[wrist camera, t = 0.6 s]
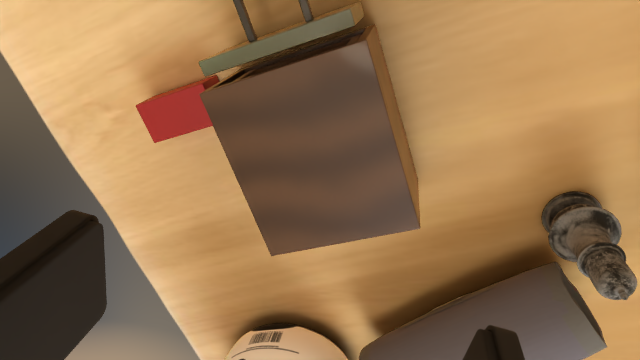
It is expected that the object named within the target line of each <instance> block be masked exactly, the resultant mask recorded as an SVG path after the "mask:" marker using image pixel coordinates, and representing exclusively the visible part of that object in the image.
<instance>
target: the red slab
mask: <svg viewBox="0 0 640 360" xmlns="http://www.w3.org/2000/svg"><path fill="white" fill-rule="evenodd" d="M218 82H219V80H218V78H217V76H216V75H215V76H212V77H209V78H206V79H204V80H201V81H198V82H195V83H192V84H189V85H186V86H183V87H180V88H177V89H174V90H171V91H168V92H165V93H162V94H159V95H156V96H153V97H151V98H149V99H147V100H145V101H143V102H141V103H139V104H138V105H136V108H137V110H138V112H139V114H140V116H141V117H142V119H143V121H144V123H145V125H146V127H147V129H148V131H149V133H150V135H151V137H152V139H153V141H154V143H156V142H160V141H163V140H166V139H170V138H173V137H176V136H180V135H183V134H186V133H190V132H193V131H197V130H200V129H203V128H207V127H210V126H213V124H212V122H211V120H210V118H209V115H208V113H207V111H206V109H205V106H204V104H203V102H202V100H201V97H200V95H199V94H200V93H202V92H203V91H205V90H207V89H208V88H210V87H212V86H213V85H215V84H217V83H218Z"/></svg>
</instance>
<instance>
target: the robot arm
mask: <svg viewBox="0 0 640 360" xmlns="http://www.w3.org/2000/svg"><path fill="white" fill-rule="evenodd" d="M103 234H104V233H103V226H102V224H100V223H99V222H98V219H97V217H96V216H94V215H90V214H86V213H82V212H79V211H75V210H71V211H68V212H66V213H65V214H63V215H62V216H61V217H59V218H58V219H56V220H55V221H53V222H52V223H51V224H49V225H48V226H46V227H45V228H44V229H42V230H41V231H39V232H38V233H36V234H35V235H34V236H32V237H31V238H30V239H28V240H26V241H25V242H24V243H22V244H21V245H20V246H18V247H17V248H15V249H14V250H12V251H11V252H9V253H8V254H7V255H5V256H4V257H2V258H1V259H0V360H64V359H65V358H66V357H67V356H68V355H69V354H70V352H71V351H72V350H73V349H74V348H75V347H76V345H78V343H79V342H80V341H81V340H82V339H83V338H84V337H85V335H86V334H87V333H88V332H89V331H90V330H91V329H92V328H93V326H94V325H95V324H96V323H97V322H98V321H99V320H100V318H101V317H102V315H103V314H104V312H105V309H106V304H107V301H106V279H105V256H104V235H103ZM463 360H525V358H524V354H523V351H522V348H521V345H520V342H519V338H518V336H517V334H516V333H515V332H514V331H511V330H507V329H504V328H500V327H496V326H493V325H488V326H487V327H486V329H485V330H483V329H478V330H477V332H476V334H475V336H474V338H473V340H472V342H471V344H470V346H469V348H468V350H467V352H466V354H465V356H464V358H463Z"/></svg>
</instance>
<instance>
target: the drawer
mask: <svg viewBox="0 0 640 360" xmlns="http://www.w3.org/2000/svg"><path fill="white" fill-rule="evenodd" d="M233 2H234V4H235V7H236V9H237V12H238V15H239V17H240V20H241V22H242V25H243V28H244V30H245V33H246V35H247V38H248V41H247V42H244V43H241V44H239V45H236V46H233V47H231V48H228V49H226V50H224V51H222V52H219V53H217V54H215V55H213V56H211V57H208V58H206V59H204V60H202V61H199V65H200V67H201V69H202V71H203V74H204V76H205V77H206V76H209V75H212V74H215V73H217V72H220V71H223V70H226V69H229V68H232V67H235V66H238V65H241V64H244V63H247V62H250V61H253V60H256V59H259V58H262V57H265V56H268V55H270V54H273V53H276V52H279V51H282V50H285V49H288V48H291V47H294V46H297V45H300V44H303V43H306V42H309V41H312V40H315V39H318V38H321V37H323V36H326V35H329V34H332V33H335V32H338V31H341V30H344V29H347V28H350V27H353V26H355V25H356V24H357V23H358V22H359V21H360V20H361V19H362V17H363V16H364V12H363V8H362V4H361V1H359V2H357V3H354V4H351V5H348V6H345V7H343V8H340V9H337V10H334V11H331V12H328V13H326V14H323V15H320V16H317V17H313V14H312V11H311V8H310V5H309V2H308V0H299V3H300V6H301V9H302V12H303V15H304V18H305V21H303V22H300V23H298V24H295V25H292V26H289V27H286V28H284V29H281V30H278V31H275V32H272V33H269V34H267V35H264V36H261V37H258V38H257V37H256V34H255V31H254V29H253V26H252V23H251V21H250V18H249V15H248V13H247V10H246V7H245V5H244V2H243V0H233ZM360 36H361V34H359V35H356V36H353V37H350V38H347V39H344V40H341V41H338V42H335V43H332V44H329V45H326V46H323V47H320V48H317V49H314V50H311V51H308V52H305V53H302V54H299V55H296V56H293V57H290V58H287V59H284V60H281V61H278V62H275V63H272V64H269V65H266V66H263V67H260V68H257V69H254V70H251V71H248V72H247V73H245V74H244V75H242V76H241V77H239V78H238V79H236V80H234V81H237V80H240V79H243V78H246V77H249V76H252V75H255V74H258V73H261V72H264V71H267V70H270V69H273V68H276V67H279V66H283V65H286V64H289V63H292V62H295V61H298V60H301V59H304V58H307V57H310V56H313V55H316V54H319V53H322V52H325V51H328V50H331V49H334V48H337V47H340V46H343V45H347V44H350V43H353V42H356V41H358V39H359V38H360ZM234 81H233V82H234Z"/></svg>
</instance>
